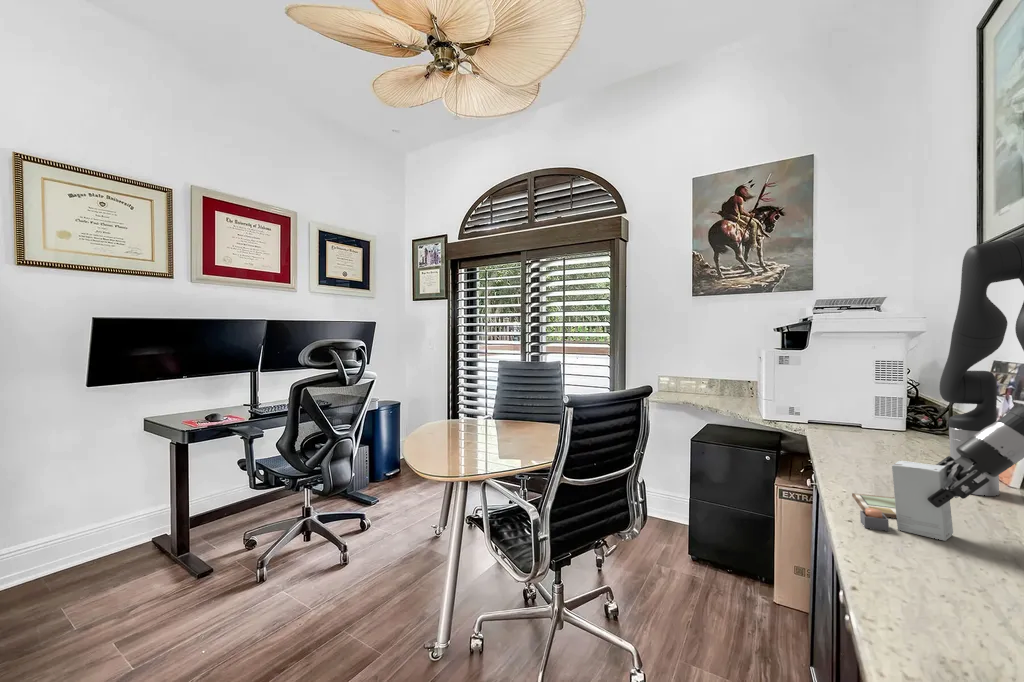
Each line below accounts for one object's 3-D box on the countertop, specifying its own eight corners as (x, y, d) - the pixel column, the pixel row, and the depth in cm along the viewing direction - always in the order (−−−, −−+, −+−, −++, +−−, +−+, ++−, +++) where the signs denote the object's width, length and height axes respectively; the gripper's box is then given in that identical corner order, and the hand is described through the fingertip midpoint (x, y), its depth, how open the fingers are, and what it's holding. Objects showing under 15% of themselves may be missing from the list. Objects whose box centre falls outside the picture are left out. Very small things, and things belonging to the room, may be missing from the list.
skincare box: (953, 535, 95) (950, 466, 96) (945, 542, 92) (942, 470, 92) (903, 523, 102) (900, 458, 103) (894, 529, 99) (891, 462, 99)
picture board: (852, 496, 121) (852, 492, 121) (914, 502, 115) (914, 499, 115) (866, 515, 108) (865, 511, 108) (937, 523, 102) (936, 519, 102)
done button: (864, 514, 103) (863, 507, 103) (880, 516, 102) (880, 509, 102) (867, 518, 101) (867, 511, 101) (884, 520, 99) (883, 513, 99)
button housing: (860, 521, 104) (860, 510, 104) (883, 524, 102) (882, 513, 102) (865, 528, 100) (864, 516, 100) (888, 531, 98) (888, 519, 98)
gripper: (961, 429, 100) (897, 475, 104) (994, 441, 87) (919, 493, 92) (994, 455, 97) (928, 501, 102) (1034, 471, 84) (955, 523, 89)
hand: (924, 497), depth 97 cm, fingers closed on skincare box, 8 cm apart
